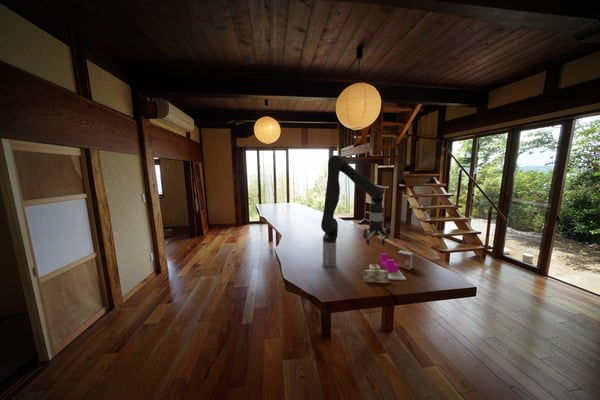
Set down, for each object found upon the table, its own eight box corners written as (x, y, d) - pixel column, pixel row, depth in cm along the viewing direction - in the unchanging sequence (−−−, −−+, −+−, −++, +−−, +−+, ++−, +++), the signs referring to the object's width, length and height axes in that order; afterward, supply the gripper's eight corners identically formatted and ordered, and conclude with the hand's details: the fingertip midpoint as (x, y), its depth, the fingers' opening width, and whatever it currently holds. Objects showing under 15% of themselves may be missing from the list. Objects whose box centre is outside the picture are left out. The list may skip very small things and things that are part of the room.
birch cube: (370, 276, 129) (371, 267, 128) (369, 272, 134) (369, 264, 134) (380, 277, 128) (380, 268, 128) (377, 272, 134) (378, 264, 133)
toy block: (398, 272, 132) (398, 260, 131) (388, 272, 132) (388, 260, 132) (389, 263, 147) (389, 253, 146) (380, 263, 147) (380, 253, 147)
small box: (397, 266, 142) (397, 252, 141) (399, 264, 146) (400, 249, 145) (409, 270, 137) (410, 254, 136) (412, 267, 141) (413, 252, 140)
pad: (385, 279, 125) (385, 277, 125) (380, 270, 136) (380, 269, 136) (405, 280, 124) (406, 278, 124) (399, 271, 135) (399, 270, 135)
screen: (364, 281, 123) (364, 272, 122) (363, 279, 125) (363, 269, 125) (389, 282, 121) (389, 273, 120) (387, 280, 124) (387, 270, 123)
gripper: (365, 220, 124) (364, 246, 126) (390, 220, 123) (389, 247, 125) (362, 218, 132) (362, 242, 134) (386, 218, 130) (385, 243, 132)
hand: (375, 244), depth 129 cm, fingers open, 8 cm apart
